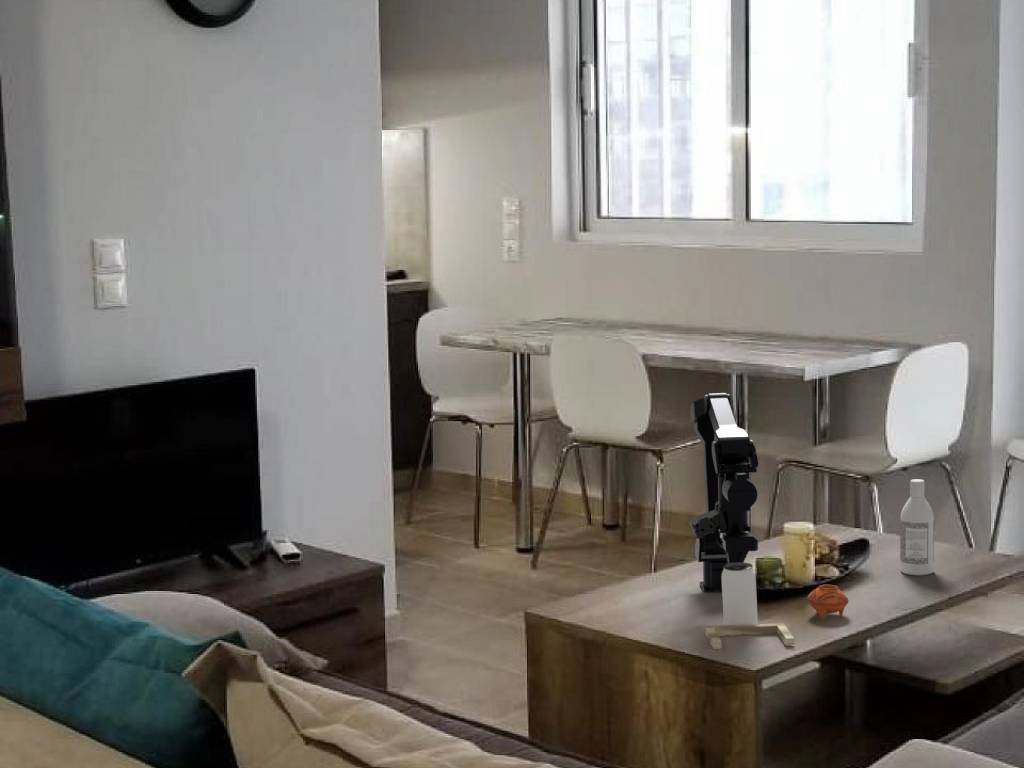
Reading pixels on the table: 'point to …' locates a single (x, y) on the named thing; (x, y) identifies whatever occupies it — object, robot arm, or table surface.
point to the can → (739, 594)
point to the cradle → (747, 632)
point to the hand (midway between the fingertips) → (734, 576)
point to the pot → (827, 600)
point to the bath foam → (917, 533)
